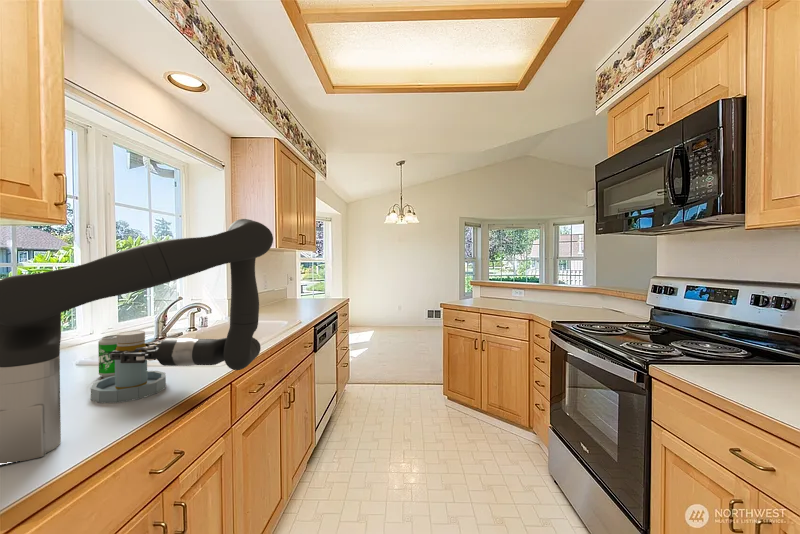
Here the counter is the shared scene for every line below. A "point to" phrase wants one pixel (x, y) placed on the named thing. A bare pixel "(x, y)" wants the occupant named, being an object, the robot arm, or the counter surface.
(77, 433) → the counter surface
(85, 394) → the counter surface
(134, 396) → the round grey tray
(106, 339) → the soda can
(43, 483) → the counter surface
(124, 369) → the bottle
